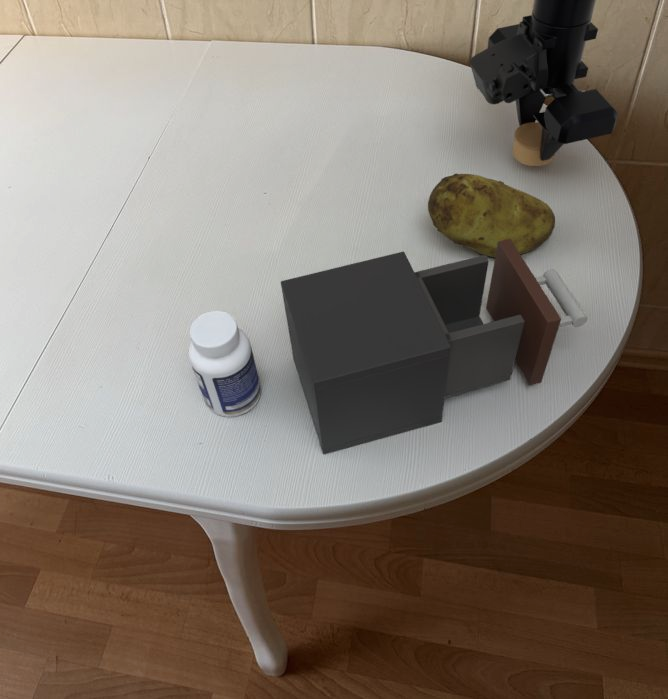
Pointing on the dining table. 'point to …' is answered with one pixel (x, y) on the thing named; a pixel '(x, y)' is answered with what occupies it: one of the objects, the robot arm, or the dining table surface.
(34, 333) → the dining table surface
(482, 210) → the potato
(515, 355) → the drawer
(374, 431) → the dark grey cube
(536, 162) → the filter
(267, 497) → the dining table surface
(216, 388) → the pill bottle
